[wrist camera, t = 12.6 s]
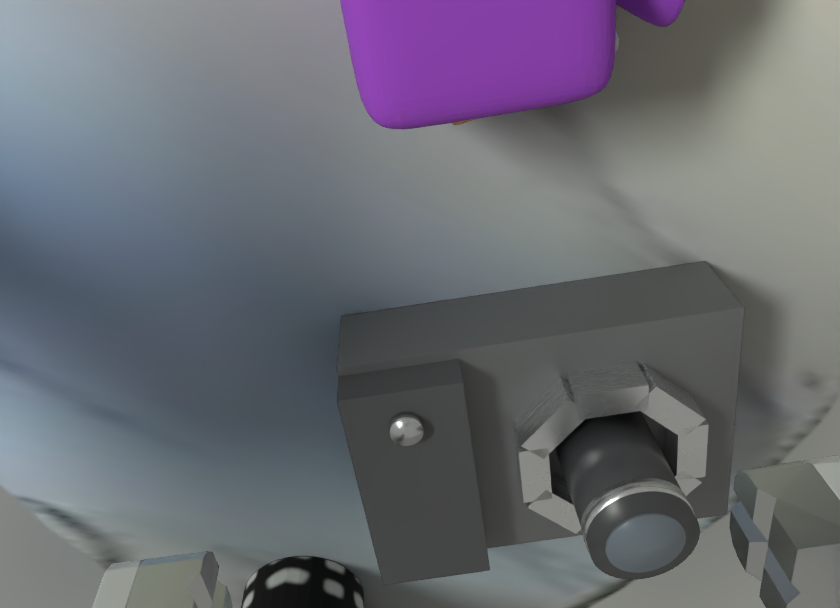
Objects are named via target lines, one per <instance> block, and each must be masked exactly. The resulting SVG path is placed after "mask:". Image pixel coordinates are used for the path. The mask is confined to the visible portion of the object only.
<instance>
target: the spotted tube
mask: <svg viewBox="0 0 840 608" xmlns="http://www.w3.org/2000/svg"><path fill="white" fill-rule="evenodd" d="M241 608H364V593H363V588H362V586H361V584H360V582H359V580H358V579H357V578H356V577H355V576H354V574H353V573H351V572H350V571H349V570H347V569H346V568H345V567H343V566H341V565H339V564H337V563H335V562H332V561H329V560H326V559H322V558H316V557H303V556H300V557H289V558H285V559H280V560H277V561H274V562H272V563H269V564H267V565H265V566H264V567H262V568H261V569H259V570H258V571H257V572H256V573H255V574H253V575H252V576H251V578H250V579H249V581H248V582H247V584H246V587H245V590H244V595H243V600H242V606H241Z"/></svg>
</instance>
